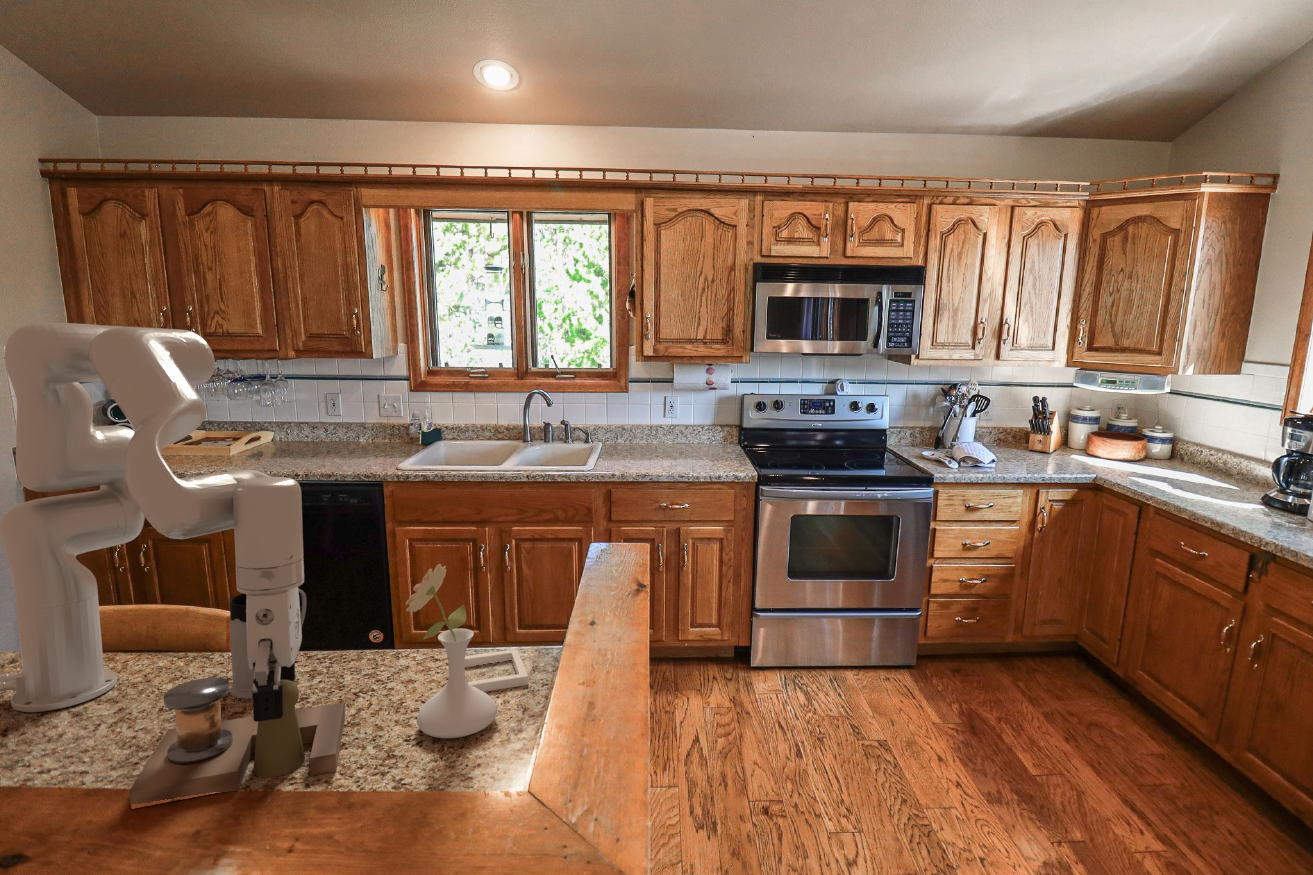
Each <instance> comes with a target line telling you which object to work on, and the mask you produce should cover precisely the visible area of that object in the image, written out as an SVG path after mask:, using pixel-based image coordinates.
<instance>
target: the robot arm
mask: <svg viewBox="0 0 1313 875" xmlns="http://www.w3.org/2000/svg"><path fill="white" fill-rule="evenodd" d="M4 362H5V367H6V371H7V375H8V378H9V380H10V381H9V382H10V383H11V385H12V388H13V391H14V395H15V398H16V432H15V434H16V435H15V436H16V438H15V439H16V440H15V465H16V466H15V467H16V468H15V469H16V474H17V478H18V480H19V482H20V484H21V485H22V486H23V487H24V488H25V489H26V490H27V489H28V490H30V491H33V492H39V493H49V492H50V493H51V492H62V491H72V490H79V489H86V488H93V487H98V486H99V489H98V490H93V491H84V492H79V493H78V492H77V493H69V494H68V493H67V494H63V495H55V496H48V497H47V496H46V497H41V498H35V499H32V500H28V501H24V502H22V503H19V504H17V505H15V506H13V507H11V508H10V509H9V510H7V512H5V514H4V515H2V518H1V520H0V538H1V539H0V540H1V542H2V545H3V547H4V548H3V549H4V550H5V554H6V556H7V559H8V561H9V562H8V563H9V565H10V570H11V574H12V581H13V588H14V596H15V606H16V615H17V627H18V637H19V648H20V657H21V658H20V659H21V670H19V671H18V672H16V673H15V672H14V673H10V672H9V673H8V672H7V673H0V692H6V691H12V692H15V693H14V694H13V695H12V696H11V699H10V704H11V708H12V709H13V710H16V711H19V712H23V713H41V712H42V713H43V712H48V711H49V712H50V711H54V710H59V709H60V710H61V709H64V708H67V707H73V706H76V705H79V704H82V703H83V704H84V703H85V702H87V701H90V700H93V699H95V698H97V697H99V696H102V695H103V694H105V693H108V691H110V690H111V689H113V687H115V685H116V684H117V682H118V675H117V672H116V671H114V670H112V669H108V668H105V667H104V656H103V655H104V653H103V641H102V631H101V630H102V629H101V616H100V605H99V594H98V593H99V591H98V590H99V589H98V583H97V578H96V577H95V575H94V574H93V572H92V571H91V570H90V569H89V568H87V567H86V566H85V565H83V564H82V563H81V562H79V560H77V555H81V554H85V553H87V552H92V551H96V550H101V549H105V548H111V547H115V546H120V545H123V544H126V543H129V542H131V541H133V540H135V539H136V538H138V536H139V535H140V534H141V532H142V531H143V528H144V523H145V519H146V520H147V521H148V523H149V524H150V526H152V527H153V528H154V529H155V530H156V531H157V532H158V533H160V534H161V535H163V536H165V537H166V538H169V539H173V540H175V539H176V540H177V539H178V540H185V539H190V538H197V537H200V536H205V535H209V534H213V533H219V532H222V531H226V530H232V529H233V530H234V552H235V553H234V556H235V576H236V578H235V579H236V580H235V581H236V591H237V592H239V593H240V594H243V593H244V594H247V602H246V625H247V655H248V665H249V669H251V670H252V671H254V680H253V691H252V698H251V699H252V714H253V715H252V716H253V720H254V721H255V722H258V721H265V720H272V719H279V718H282V716H283V686H280V680H290V681H293V682H294V683H295V680H296V669H295V668H296V667H295V666H296V665H295V664H296V663H295V661H296V659H297V657H298V656H297V655H299V654H298V653H299V651H300V647H301V644H302V640H303V634H302V632H303V631H302V630H303V629H302V627H301V606H300V603H301V602H300V594H299V593H300V592H299V591H298V589H299V587H301V586H302V585H303V584H304V583H305V565H304V564H305V562H304V539H303V538H304V537H303V536H304V534H303V533H304V532H303V529H304V528H303V507H302V506H303V502H302V500H303V499H302V488H301V486H300V483H299V482H298V481H297V480H296V479H293V478H290V477H284V476H270V475H269V474H267V473H263V472H262V471H259V470H256V469H238V470H231V471H230V470H229V471H223V472H214V473H208V474H200V475H194V476H188V477H181V478H180V477H179V478H178V477H177V476H176V475H175V474H174V472H173V471H172V470H171V468H170V467H169V465H168V464H167V463H166V461H165V459H164V457H163V456H162V452H161V451H162V450H164V449H165V448H168V447H169V446H171V445H174V444H175V443H176V442H178V441H180V440H183V439H185V438H186V437H187V436H189V435H191V434H193V432H195V431H196V430H197V429H198V428H199V427H200V426H201V425H202V424H203V422H204V420H205V419H206V416H207V407H206V404H205V402H204V401H203V399H202V398H201V397H200V395H199V394H198V393H197V391H196V390H195V388H194V387H197V386H202V385H204V384H206V383H207V382H209V380H210V379H211V377H213V374H214V372H215V366H216V361H215V355H214V352H213V350H212V349H211V347H210V345H209V344H208V342H207V341H206V340H205V339H204V338H203V337H202V336H200V335H199V334H197V333H196V332H193V331H190V330H186V329H176V328H164V327H163V328H161V327H159V328H157V327H140V326H122V325H121V326H120V325H103V324H102V325H101V324H90V323H75V322H73V323H71V322H38V323H37V322H36V323H30V324H25V325H23V326H20V327H18V328H16V329H15V330H14V331H12V333H11V334H10V335H9V337H8V339H7V341H6V345H5V348H4ZM81 383H103V385H104V386H105V388H106V389H107V392H109V394H110V395H111V396H112V398H113V399H114V401H115V403H116V404H117V406H118V407H119V409H120V410H121V412H122V413H123V415H124V416H125V418H126V419H127V421H128V422H129V424H130V425H131V426H132V428H133V429H131V428H129V427H127V426H122V425H98V426H97V425H96V426H94V424H93V422H94V420H93V419H94V403H93V400H92V398H91V396H90V394H89V392H88V391H87V390H86V388H84V386H83V385H82V384H81Z"/></svg>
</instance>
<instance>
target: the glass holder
mask: <svg viewBox="0 0 1313 875" xmlns="http://www.w3.org/2000/svg"><path fill="white" fill-rule="evenodd" d="M298 592H299V593H300V596H301V610H300V617H301V628H303V624H304V620H305V617H306V613H307V594H306V593H305V592H304V590H302V589H300V588H298ZM246 602H247V594H244V593H240V594H237V595H235V596H233V597H232V598H230V599H229V613H230V614H229V615H230V620H229V638H230V656H231V670H232V671H231V673H232V686H231V687H230V690H229V693H230V695H231V696H232V697H234V698H236V697H237V699H253V698H252V691H253V680H254V671H252V670H251V669H249V665H248V655H247V625H246Z"/></svg>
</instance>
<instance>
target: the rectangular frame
mask: <svg viewBox="0 0 1313 875" xmlns="http://www.w3.org/2000/svg"><path fill="white" fill-rule="evenodd" d="M506 660H512V661H513V663H512V666H513V665H514V666H513V668H515V669H514V671H515V670H516V671H515V674H510V675H506V676H505V675H504V676H498V677H492V678H484V679H479V680H472V681H467V682H468V683H469V684H470V685H472V686H473V687H475V688H477V689H479V690H481V691H483V692H485V693H486V692H491V691H497V690H503V689H509V688H516V687H521V686H528V685H529V675H528V673H527V670H526V667H525V665H524V662H523V660H522V658H521V656H520V652H519V651H518V648H517V649H507V650H502V651H501V650H500V651H494V652H493V651H492V652H488V653H487V652H486V653H479V654H474V655H465V668H470V667H477V666H476V665H479V666H484V665H483V664H486V663H492V662H496V661H497V662H498V661H506ZM512 661H511V662H512ZM486 665H487V664H486ZM516 673H517V674H516Z"/></svg>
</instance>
